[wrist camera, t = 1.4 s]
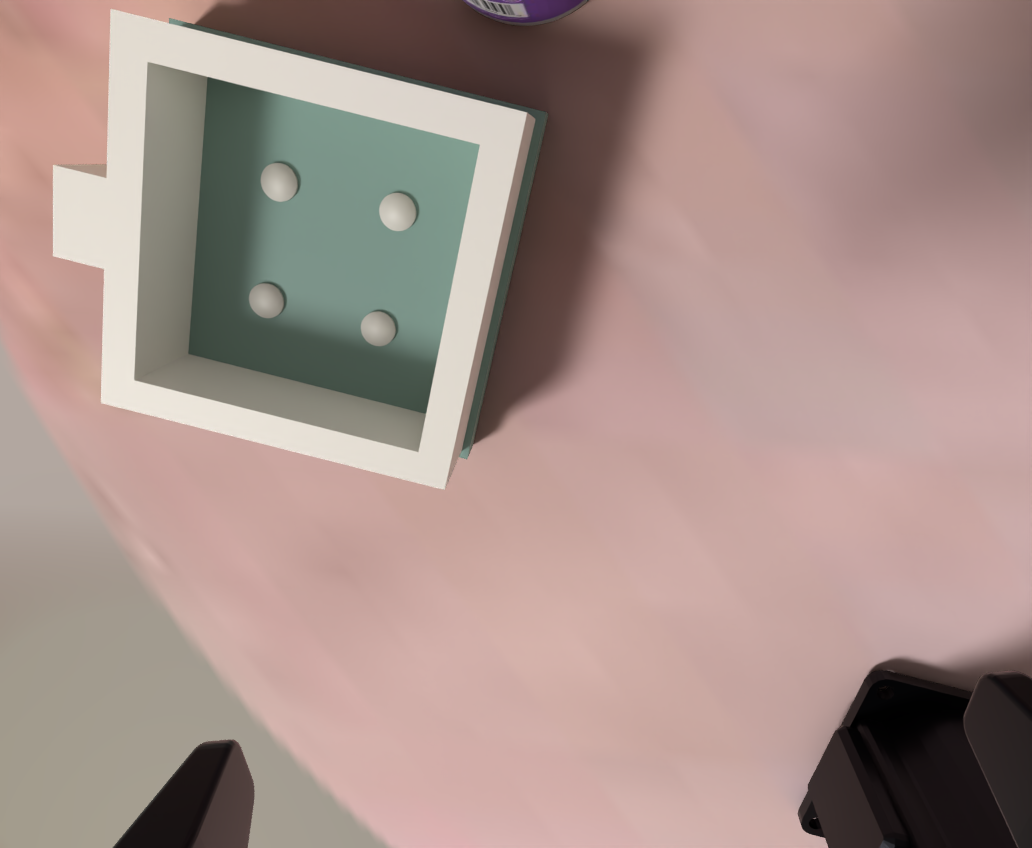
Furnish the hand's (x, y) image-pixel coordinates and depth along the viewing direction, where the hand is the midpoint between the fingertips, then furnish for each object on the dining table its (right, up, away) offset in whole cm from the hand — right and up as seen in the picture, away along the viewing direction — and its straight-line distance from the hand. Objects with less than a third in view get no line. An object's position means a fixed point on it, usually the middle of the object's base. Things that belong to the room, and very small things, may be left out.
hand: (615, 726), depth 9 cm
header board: (-6, +8, +10) cm, 15 cm away
